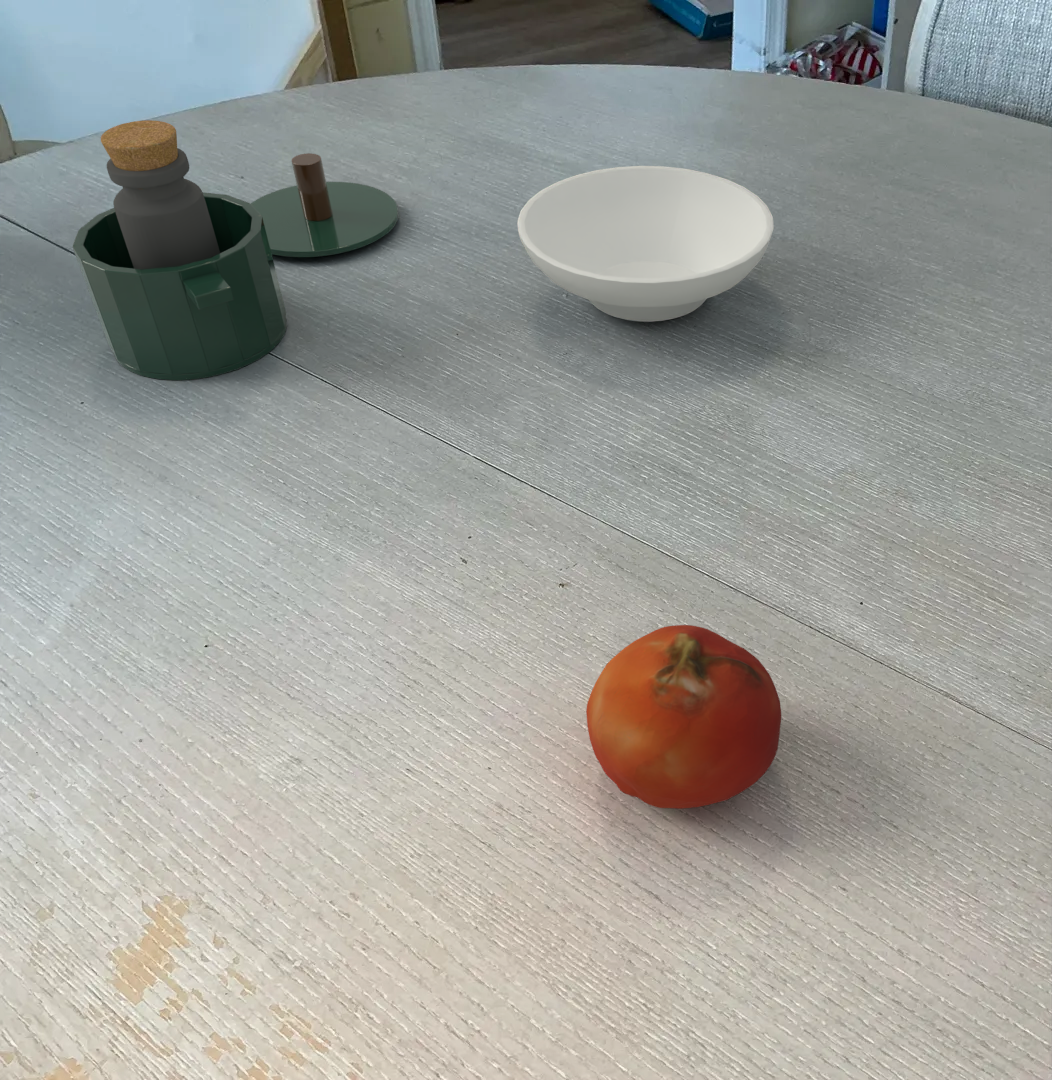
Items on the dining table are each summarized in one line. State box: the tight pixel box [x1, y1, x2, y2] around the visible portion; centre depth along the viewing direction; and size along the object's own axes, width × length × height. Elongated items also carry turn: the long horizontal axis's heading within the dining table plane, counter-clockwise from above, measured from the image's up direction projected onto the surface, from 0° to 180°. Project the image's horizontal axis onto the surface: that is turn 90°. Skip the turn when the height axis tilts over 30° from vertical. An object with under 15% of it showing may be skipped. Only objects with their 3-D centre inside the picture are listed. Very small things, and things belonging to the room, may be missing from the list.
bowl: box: [516, 165, 775, 323], centre depth 92 cm, size 20×20×7 cm
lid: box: [250, 152, 400, 258], centre depth 100 cm, size 13×13×6 cm
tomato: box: [585, 624, 782, 810], centre depth 57 cm, size 9×9×8 cm
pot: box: [72, 191, 288, 381], centre depth 86 cm, size 12×18×8 cm
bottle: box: [100, 119, 220, 269], centre depth 83 cm, size 6×6×15 cm
